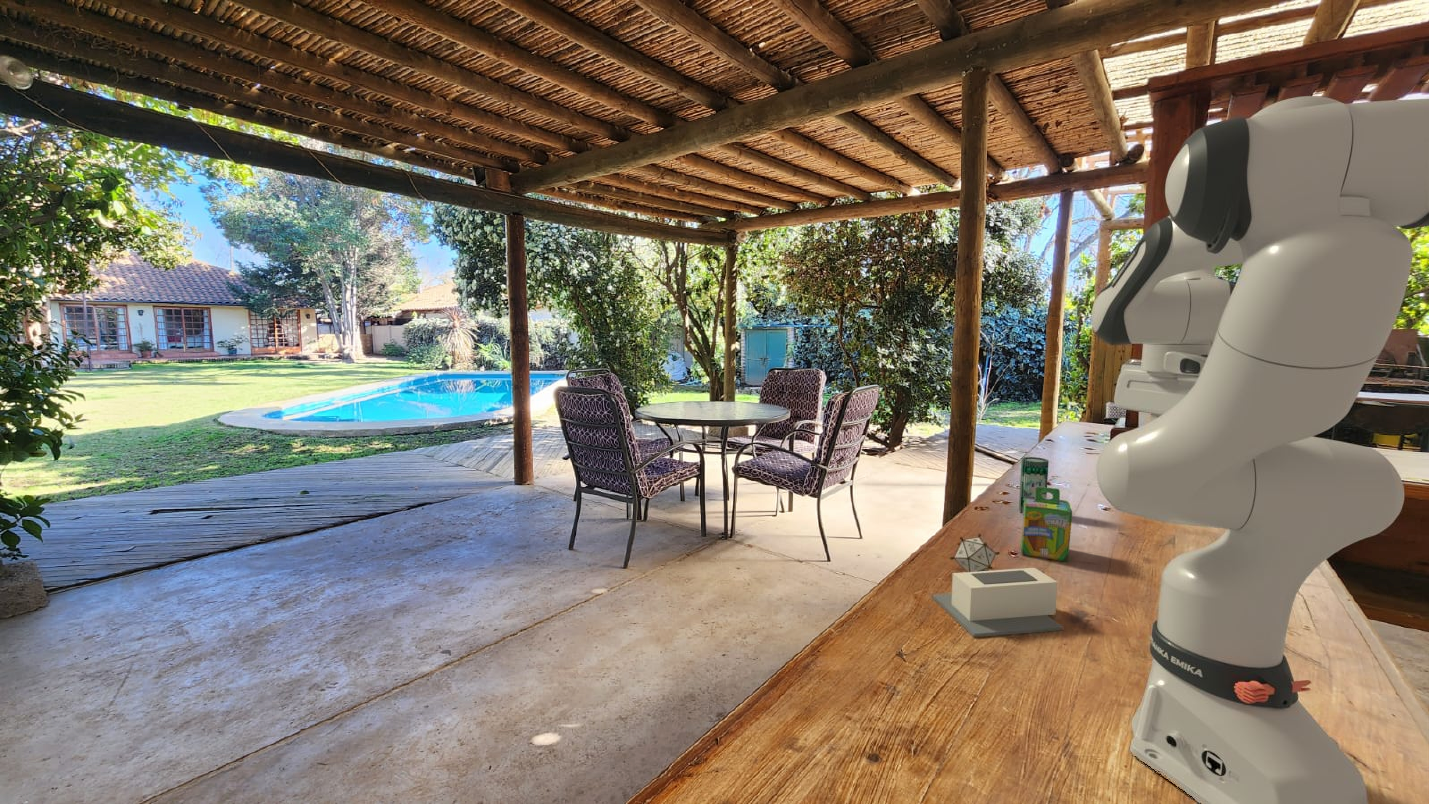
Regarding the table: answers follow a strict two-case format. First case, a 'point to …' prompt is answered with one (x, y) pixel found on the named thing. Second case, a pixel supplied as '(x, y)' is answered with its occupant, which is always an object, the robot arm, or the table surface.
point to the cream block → (1003, 594)
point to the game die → (974, 555)
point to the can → (1032, 477)
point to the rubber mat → (998, 621)
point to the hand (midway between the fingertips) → (1167, 442)
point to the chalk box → (1046, 526)
